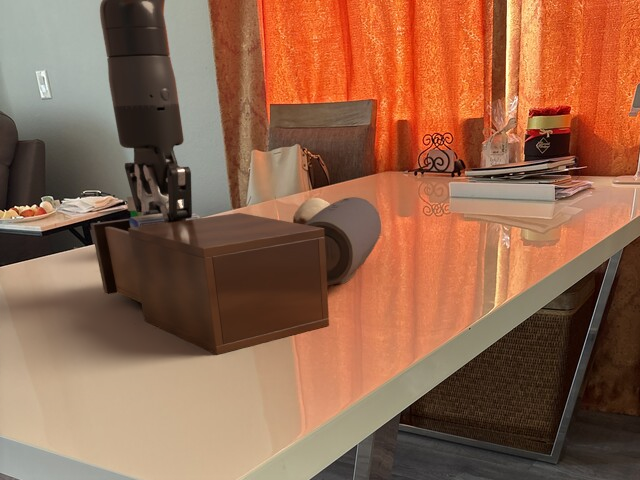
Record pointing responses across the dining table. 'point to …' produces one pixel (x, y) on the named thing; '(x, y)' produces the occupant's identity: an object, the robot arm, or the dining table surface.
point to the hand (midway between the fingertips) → (168, 250)
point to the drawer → (116, 258)
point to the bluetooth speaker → (347, 236)
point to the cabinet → (231, 279)
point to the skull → (309, 210)
